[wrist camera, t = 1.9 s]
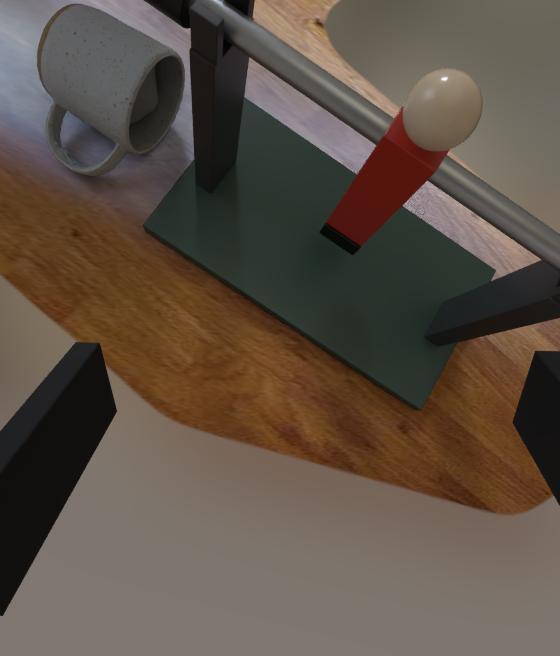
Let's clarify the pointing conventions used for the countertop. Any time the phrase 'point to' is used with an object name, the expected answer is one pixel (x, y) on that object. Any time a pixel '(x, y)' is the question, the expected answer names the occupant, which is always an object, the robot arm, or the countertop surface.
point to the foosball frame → (326, 240)
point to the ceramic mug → (107, 83)
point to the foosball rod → (388, 139)
